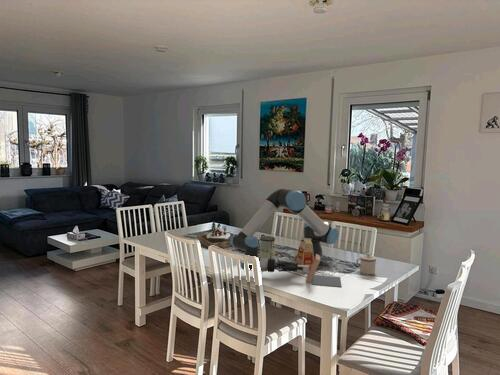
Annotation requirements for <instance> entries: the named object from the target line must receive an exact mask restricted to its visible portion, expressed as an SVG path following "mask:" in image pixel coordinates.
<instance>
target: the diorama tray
mask: <svg viewBox="0 0 500 375" xmlns="http://www.w3.org/2000/svg"><path fill="white" fill-rule="evenodd" d="M226 233H229V234H230V235H231V236H233V235H235V233H231V231H226ZM208 234H209V233H208ZM208 234H199V235H196V240H197V239H198V240H200V242H201V245H204V246H205V247H207V248H209V247H208V246H210V245H215V246H218V247H221V248H220V249H224V248H231V247H233V246H232V245H231V244H230V241H227V242H219V243H211V242H209V241H207V240H205V238H206V236H207V235H208ZM200 242H199V243H200Z"/></svg>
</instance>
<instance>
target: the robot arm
mask: <svg viewBox="0 0 500 375" xmlns="http://www.w3.org/2000/svg"><path fill="white" fill-rule="evenodd" d="M279 208H283V209H287V210H288V211H289V212H290V213H291V214H293V215H297V216H298V218H300V219H301V220H302V221H304V226H303V237H304V238H311V242H312V245H313V254H314V257H315V255H316V254H318V255H320V256H322V255H323V249H322V245H321V243H324V244H326V245H334V244H335V243H337V241H338V239H339V235H340V234H339V233H340V232H339V229H338V228H337V227H335V226H332V225H330V224H329V222H327V221H323V220H322V219H321V218H320V216H318V215H317V214H316V213H315V212H314V211H313V209H311V208H310V207H309V205H307V199H306V196H305V194H304V193H303V192H301V191H300V190H295V189H294V190H292V189H288V188H287V189H286V188H279V189H277V190H275V191H273V192H271V194H269V195H268V197H267V198H266V199H265V200H264V204H262V206H260V208H259V209H257V211H256V213H255V214H254V215H253V216H252V218H250V220H249V221H248V222H247V223H246V224H245V225H244V227H243V228H242V229H241V230H240V231H239V233H238V234H234V235H233V236H232V237H231V239H230V244H231V245H232V247H233V248H235V249H238V250H240V251H244V256H245V255H250V256H256V257H258V256H259V254H258V253H259V239H258V237H257V236H254V235H255V234H256V233H257V231H258V230H260V228H261V227H262V226H263V224H264V223H265V222H266V221H267V220H268V218H269V217H270V216H271V215H272V214H273V213H274V212H277V210H278V209H279ZM258 258H259V261H260V267H261V271H260V272H261V273H264V272H268V273H274V272H275V270H276V271H277V272H297V273H298V271H300V272H301V271H302V272H303V271H304V272H309V266H306V265H298V263H297V264H296V262H289V261H284V260H280V261H276V259H267V258H260V257H258ZM240 268H241V269H242V270H244V263H242V262H241V261H240ZM249 268H250V270H249V271H252V270H251V269H252V265H249ZM244 271H245V270H244Z"/></svg>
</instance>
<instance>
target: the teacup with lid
mask: <svg viewBox="0 0 500 375" xmlns="http://www.w3.org/2000/svg"><path fill="white" fill-rule="evenodd" d="M359 261H360V264H359ZM376 261H377V259H376V257H374V256H372V255H371V253H366V254H364V255H361V256H360V258H357V259H356V265H357V267H359V272H360V273H361V274H363V275H368V274H371V275H374V274H375V273H376Z"/></svg>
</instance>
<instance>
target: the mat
mask: <svg viewBox="0 0 500 375" xmlns="http://www.w3.org/2000/svg"><path fill="white" fill-rule="evenodd" d="M311 286H319V287H320V286H323V287H332V288H334V287H336V288H342V280H341V276H329V275H320V274H319V275H316V274H314V277H313V279H312V281H311Z"/></svg>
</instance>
